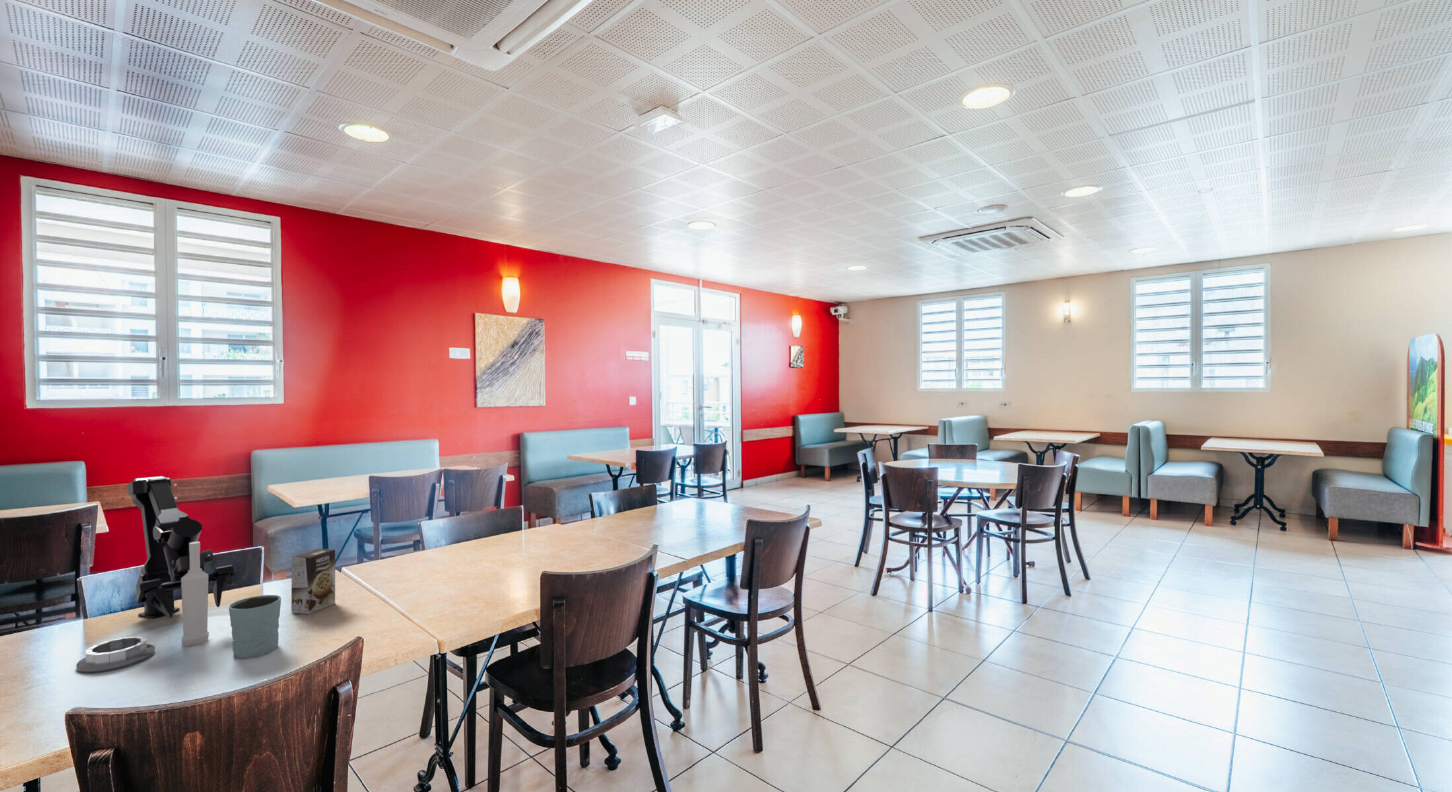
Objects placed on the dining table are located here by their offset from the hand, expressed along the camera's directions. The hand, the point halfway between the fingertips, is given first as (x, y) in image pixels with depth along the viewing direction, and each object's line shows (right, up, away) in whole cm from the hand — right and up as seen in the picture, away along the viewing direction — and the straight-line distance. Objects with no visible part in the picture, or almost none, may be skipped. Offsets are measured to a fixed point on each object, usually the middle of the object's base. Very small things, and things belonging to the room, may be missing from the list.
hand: (195, 611), depth 152 cm
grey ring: (-10, -8, -10) cm, 16 cm away
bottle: (0, -8, 0) cm, 8 cm away
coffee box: (+14, -8, +24) cm, 28 cm away
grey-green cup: (+18, -8, -4) cm, 20 cm away
